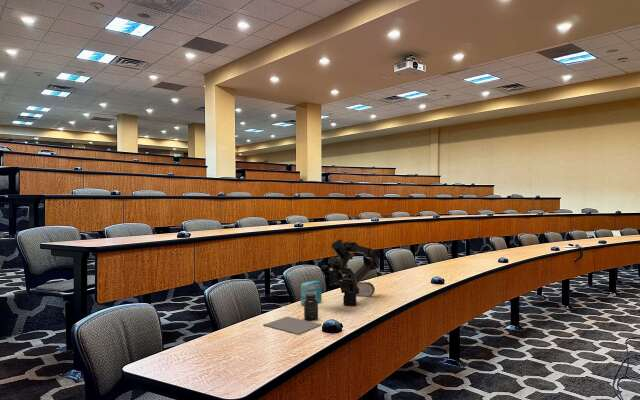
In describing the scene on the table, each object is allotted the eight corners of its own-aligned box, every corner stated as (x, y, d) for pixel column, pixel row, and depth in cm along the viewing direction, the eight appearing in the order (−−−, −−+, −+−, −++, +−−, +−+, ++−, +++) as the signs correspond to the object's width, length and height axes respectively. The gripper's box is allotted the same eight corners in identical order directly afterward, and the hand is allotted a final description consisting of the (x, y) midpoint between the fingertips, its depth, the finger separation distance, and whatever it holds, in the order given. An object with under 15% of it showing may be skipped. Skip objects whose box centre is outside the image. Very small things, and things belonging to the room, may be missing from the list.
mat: (287, 317, 205) (287, 316, 205) (322, 325, 191) (322, 324, 191) (263, 325, 193) (263, 324, 193) (298, 334, 179) (298, 333, 179)
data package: (306, 306, 225) (306, 284, 225) (300, 305, 228) (300, 283, 228) (321, 302, 234) (321, 280, 234) (316, 301, 237) (315, 280, 237)
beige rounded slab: (374, 296, 246) (374, 282, 246) (373, 297, 243) (373, 283, 243) (350, 294, 251) (350, 280, 251) (348, 296, 248) (348, 281, 248)
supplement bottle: (303, 317, 205) (303, 293, 205) (317, 316, 205) (317, 292, 205) (304, 321, 198) (303, 296, 198) (318, 320, 199) (318, 295, 199)
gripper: (322, 250, 224) (309, 274, 216) (350, 252, 212) (338, 277, 204) (331, 263, 230) (319, 286, 222) (359, 266, 218) (347, 290, 210)
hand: (330, 285), depth 214 cm, fingers closed
